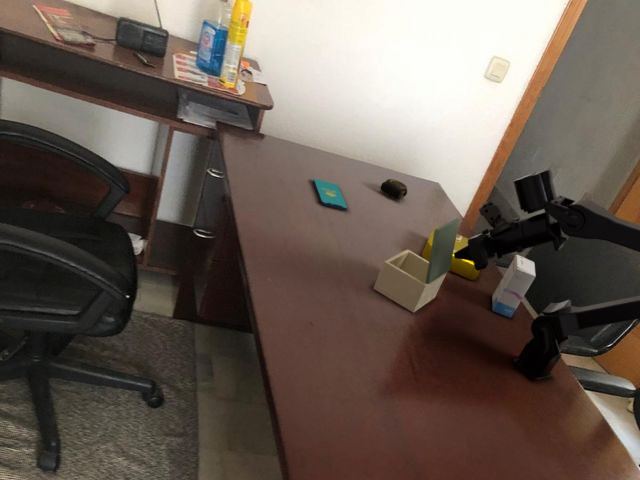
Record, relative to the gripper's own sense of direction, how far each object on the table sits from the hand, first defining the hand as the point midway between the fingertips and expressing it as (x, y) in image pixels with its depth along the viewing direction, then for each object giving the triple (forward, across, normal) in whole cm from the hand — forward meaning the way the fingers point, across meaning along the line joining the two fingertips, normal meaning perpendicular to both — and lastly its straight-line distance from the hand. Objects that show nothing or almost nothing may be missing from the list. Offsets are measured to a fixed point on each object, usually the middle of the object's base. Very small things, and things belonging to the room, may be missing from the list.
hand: (454, 255), depth 137 cm
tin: (+14, 0, +5) cm, 15 cm away
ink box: (+2, -20, +17) cm, 27 cm away
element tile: (+15, -30, +4) cm, 34 cm away
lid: (+3, 0, -2) cm, 3 cm away
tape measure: (+35, -49, -16) cm, 62 cm away
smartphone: (+41, -26, -22) cm, 53 cm away
